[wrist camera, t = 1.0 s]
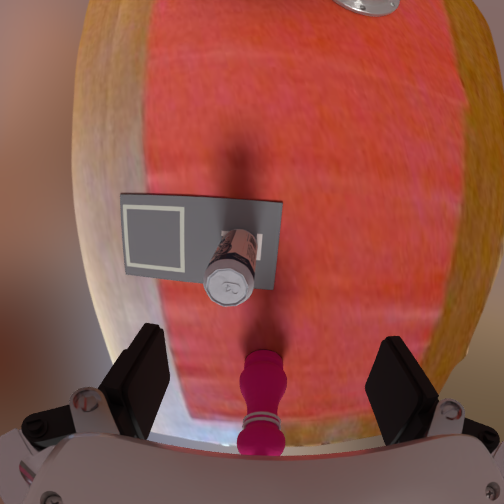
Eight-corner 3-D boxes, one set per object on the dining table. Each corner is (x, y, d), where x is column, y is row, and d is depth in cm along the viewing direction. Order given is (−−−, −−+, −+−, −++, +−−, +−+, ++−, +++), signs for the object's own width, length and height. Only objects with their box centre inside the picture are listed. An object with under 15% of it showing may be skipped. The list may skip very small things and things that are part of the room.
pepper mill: (233, 366, 43) (217, 470, 24) (257, 339, 41) (250, 452, 22) (269, 383, 44) (267, 483, 25) (294, 358, 42) (304, 465, 23)
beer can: (224, 224, 35) (204, 258, 24) (261, 232, 35) (258, 269, 24) (218, 258, 36) (197, 304, 25) (253, 266, 37) (247, 315, 25)
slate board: (120, 194, 34) (120, 194, 34) (282, 202, 34) (282, 203, 34) (126, 273, 38) (125, 274, 38) (273, 289, 38) (273, 290, 38)
